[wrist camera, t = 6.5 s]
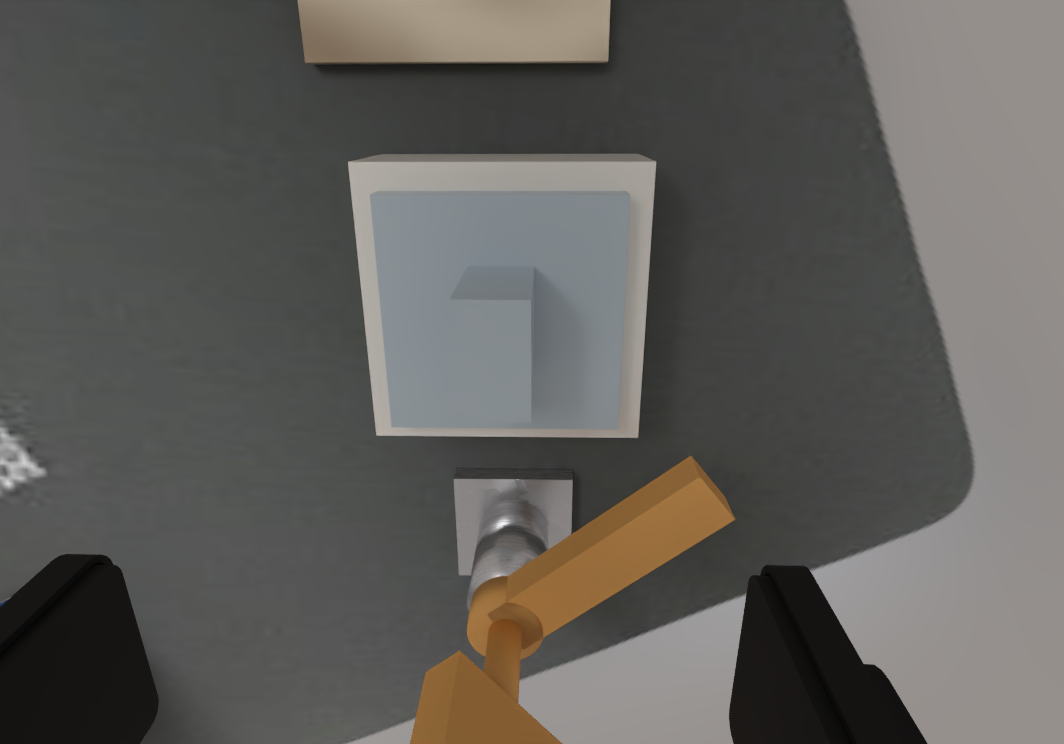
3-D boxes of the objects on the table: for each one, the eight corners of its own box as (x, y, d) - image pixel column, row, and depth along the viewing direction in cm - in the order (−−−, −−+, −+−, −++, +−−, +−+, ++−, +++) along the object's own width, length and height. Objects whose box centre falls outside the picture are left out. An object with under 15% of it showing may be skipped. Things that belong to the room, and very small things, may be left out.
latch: (664, 423, 25) (727, 591, 16) (748, 525, 26) (847, 728, 18) (434, 580, 28) (382, 792, 19) (523, 663, 30) (511, 893, 21)
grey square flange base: (456, 468, 33) (435, 546, 27) (572, 469, 33) (577, 548, 27) (461, 563, 36) (443, 654, 30) (569, 564, 35) (573, 656, 29)
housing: (381, 154, 28) (348, 161, 23) (638, 153, 27) (656, 161, 23) (401, 388, 32) (376, 435, 27) (625, 390, 32) (637, 437, 27)
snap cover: (378, 190, 23) (328, 213, 18) (626, 190, 23) (649, 213, 18) (398, 414, 27) (360, 488, 21) (615, 416, 27) (631, 491, 21)
